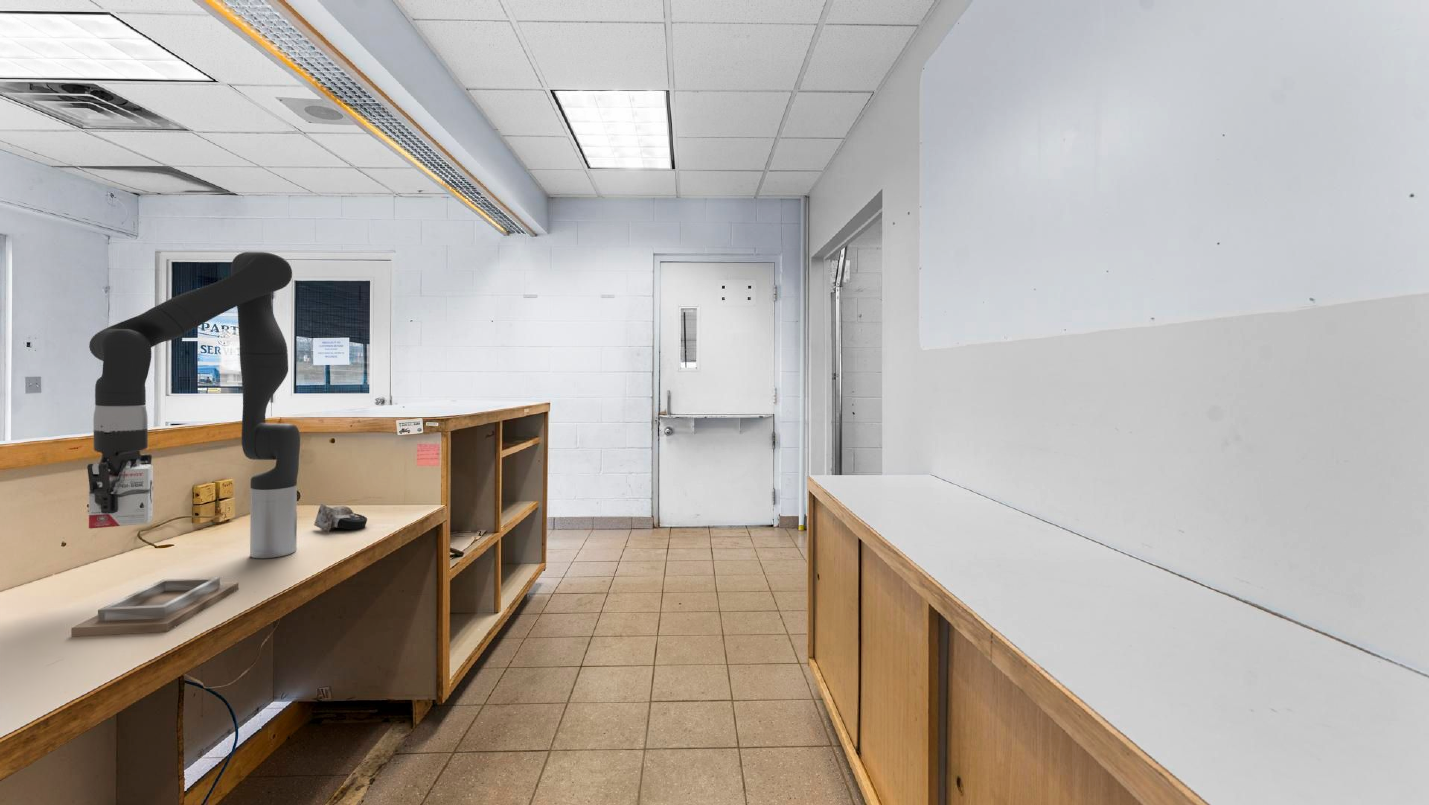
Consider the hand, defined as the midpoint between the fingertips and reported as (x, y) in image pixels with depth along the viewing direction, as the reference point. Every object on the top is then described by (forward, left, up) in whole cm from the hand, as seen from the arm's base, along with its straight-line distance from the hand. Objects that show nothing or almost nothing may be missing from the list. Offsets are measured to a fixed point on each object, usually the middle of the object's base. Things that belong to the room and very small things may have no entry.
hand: (121, 508), depth 113 cm
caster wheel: (-48, +21, -18) cm, 56 cm away
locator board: (+10, +14, -17) cm, 25 cm away
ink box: (0, 0, -3) cm, 3 cm away
